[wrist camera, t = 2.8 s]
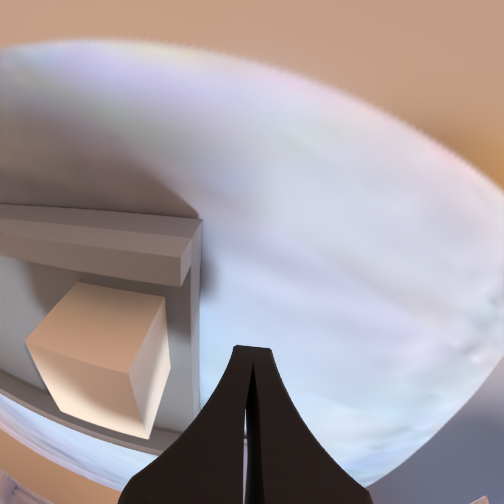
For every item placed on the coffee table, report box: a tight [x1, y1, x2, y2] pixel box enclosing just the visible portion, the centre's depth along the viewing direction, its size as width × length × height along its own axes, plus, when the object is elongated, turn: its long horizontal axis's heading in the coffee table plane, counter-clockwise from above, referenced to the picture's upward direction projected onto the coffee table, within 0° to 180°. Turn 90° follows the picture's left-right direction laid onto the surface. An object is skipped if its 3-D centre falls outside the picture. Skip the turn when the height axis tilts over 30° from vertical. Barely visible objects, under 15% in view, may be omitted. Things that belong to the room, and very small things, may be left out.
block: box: [25, 282, 171, 440], centre depth 10 cm, size 4×4×4 cm
